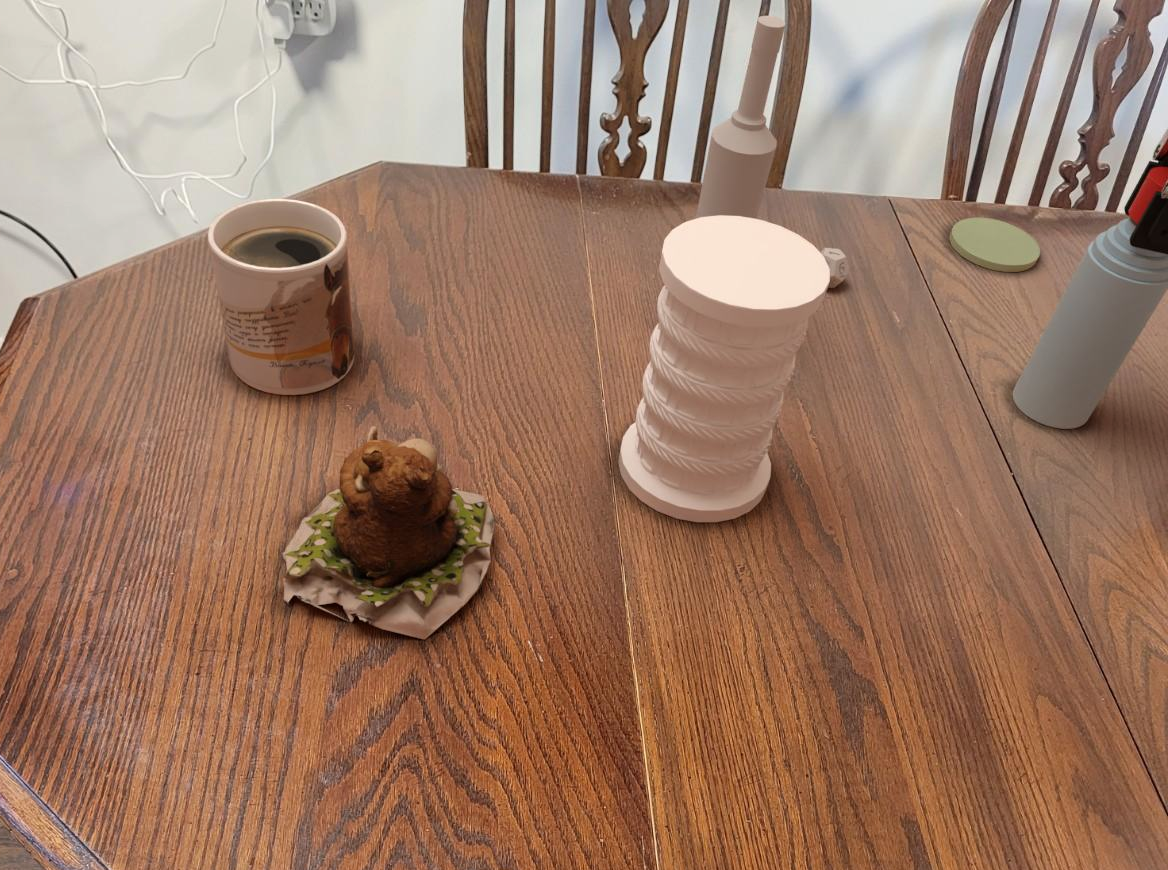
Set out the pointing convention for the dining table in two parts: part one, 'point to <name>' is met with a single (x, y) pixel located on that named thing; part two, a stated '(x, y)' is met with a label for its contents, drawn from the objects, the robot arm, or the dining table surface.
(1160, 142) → the robot arm
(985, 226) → the coaster
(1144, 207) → the cap
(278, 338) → the mug
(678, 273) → the decorative container
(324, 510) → the bear figurine
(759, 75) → the bottle
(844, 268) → the game die
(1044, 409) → the bottle
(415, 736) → the dining table surface
